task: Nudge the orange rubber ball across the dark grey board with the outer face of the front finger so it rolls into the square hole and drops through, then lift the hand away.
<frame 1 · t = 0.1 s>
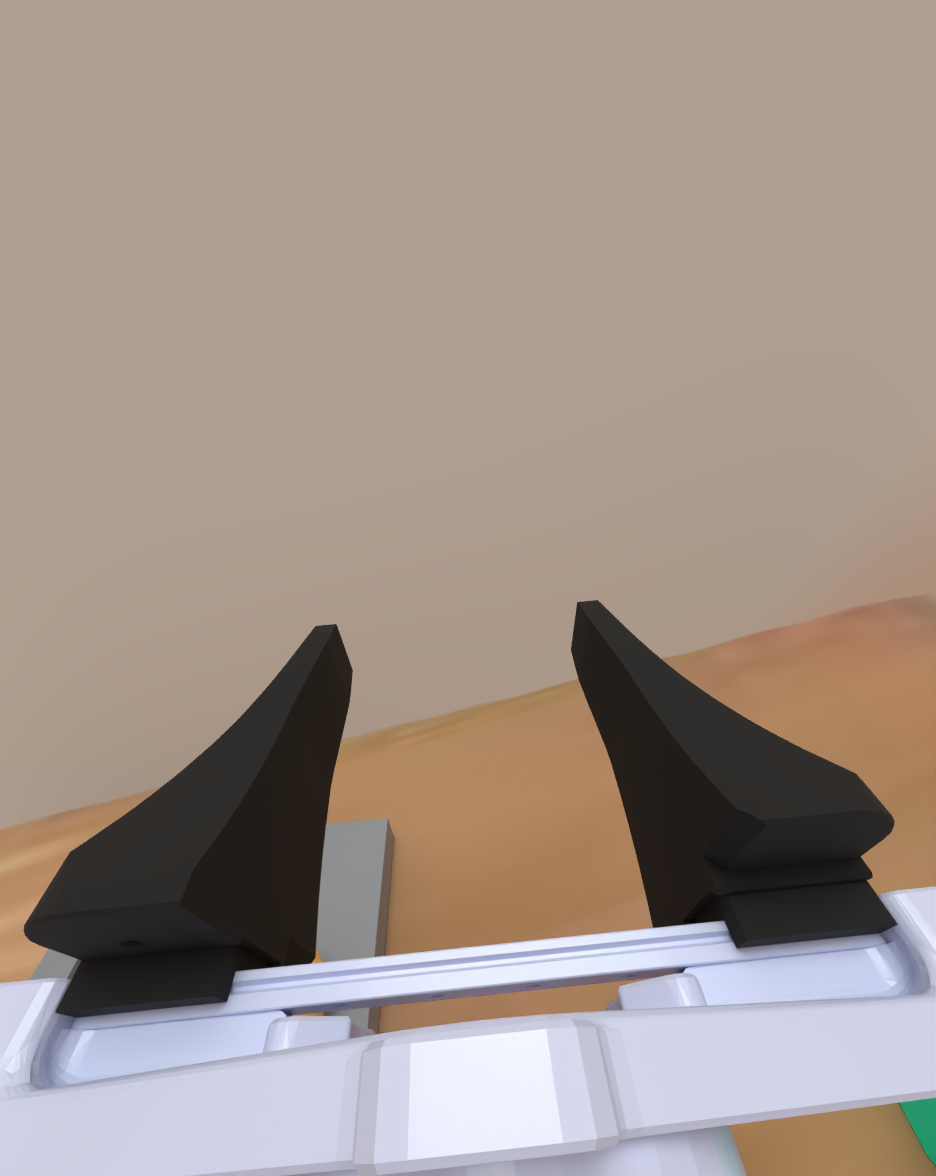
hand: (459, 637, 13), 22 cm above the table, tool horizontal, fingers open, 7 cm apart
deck: (201, 1042, 21), on the table
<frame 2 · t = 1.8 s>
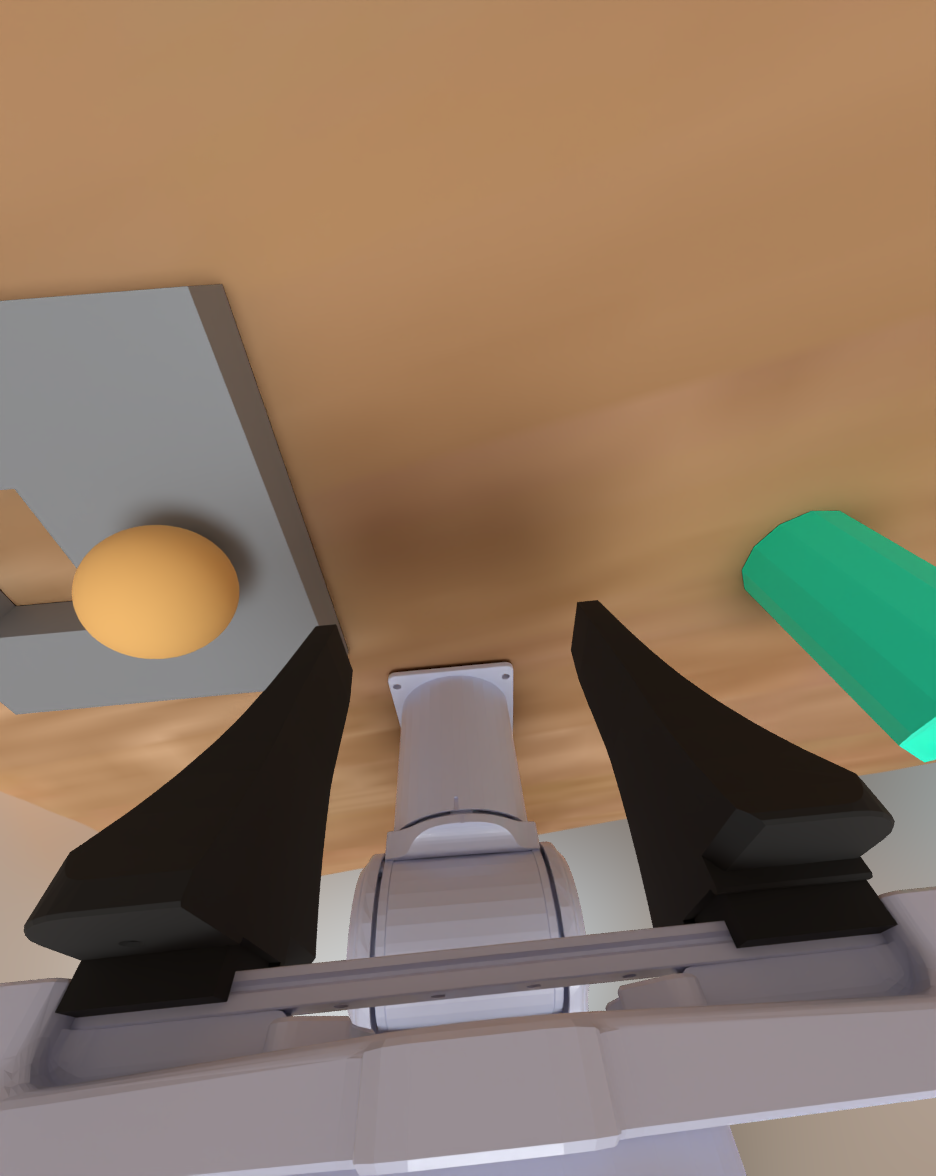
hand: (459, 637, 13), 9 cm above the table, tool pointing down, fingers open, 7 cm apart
candle: (794, 556, 23), on the table
ball: (163, 591, 16), point 5 cm above the table, touching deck
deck: (111, 536, 19), on the table
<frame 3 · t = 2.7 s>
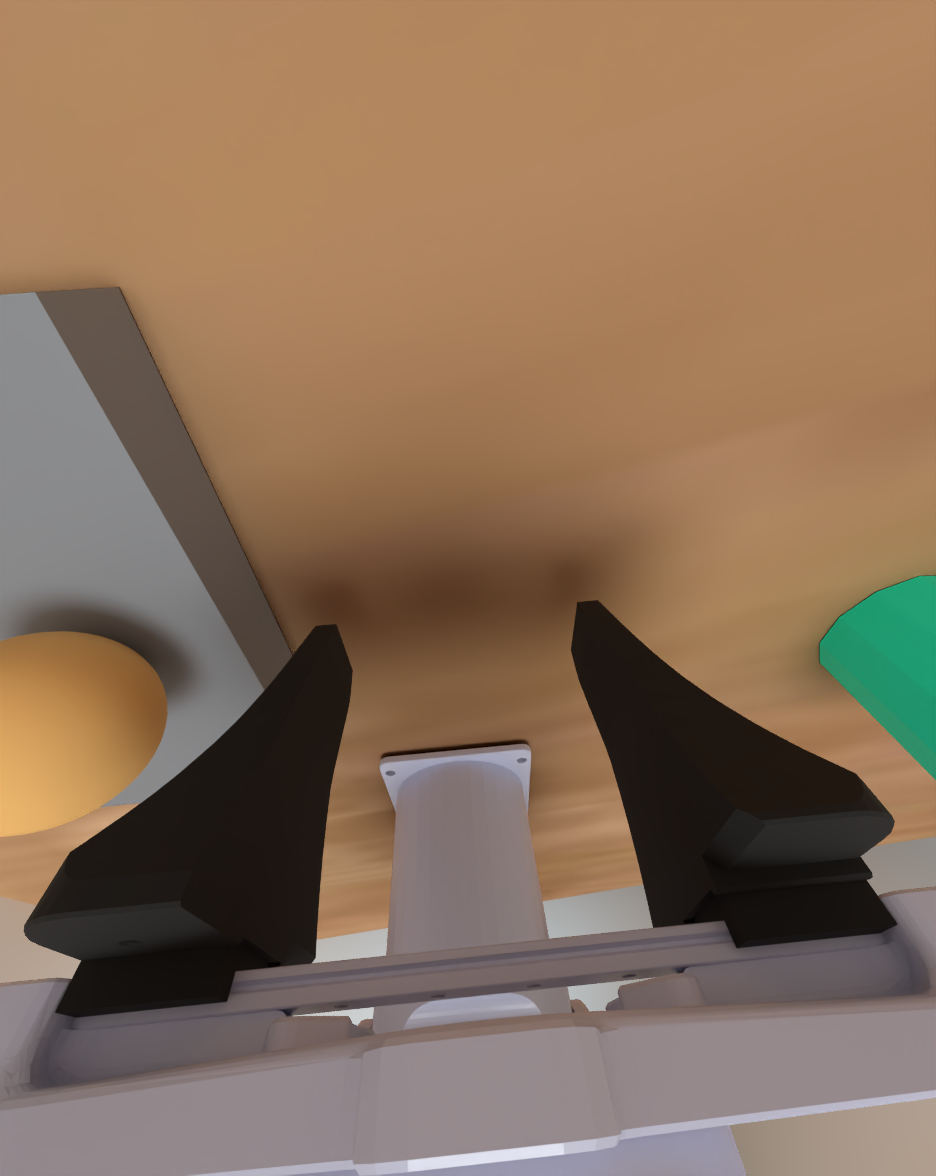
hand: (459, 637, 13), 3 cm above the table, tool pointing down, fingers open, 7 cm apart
candle: (886, 625, 19), on the table
ball: (50, 726, 11), point 5 cm above the table, touching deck
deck: (11, 617, 15), on the table
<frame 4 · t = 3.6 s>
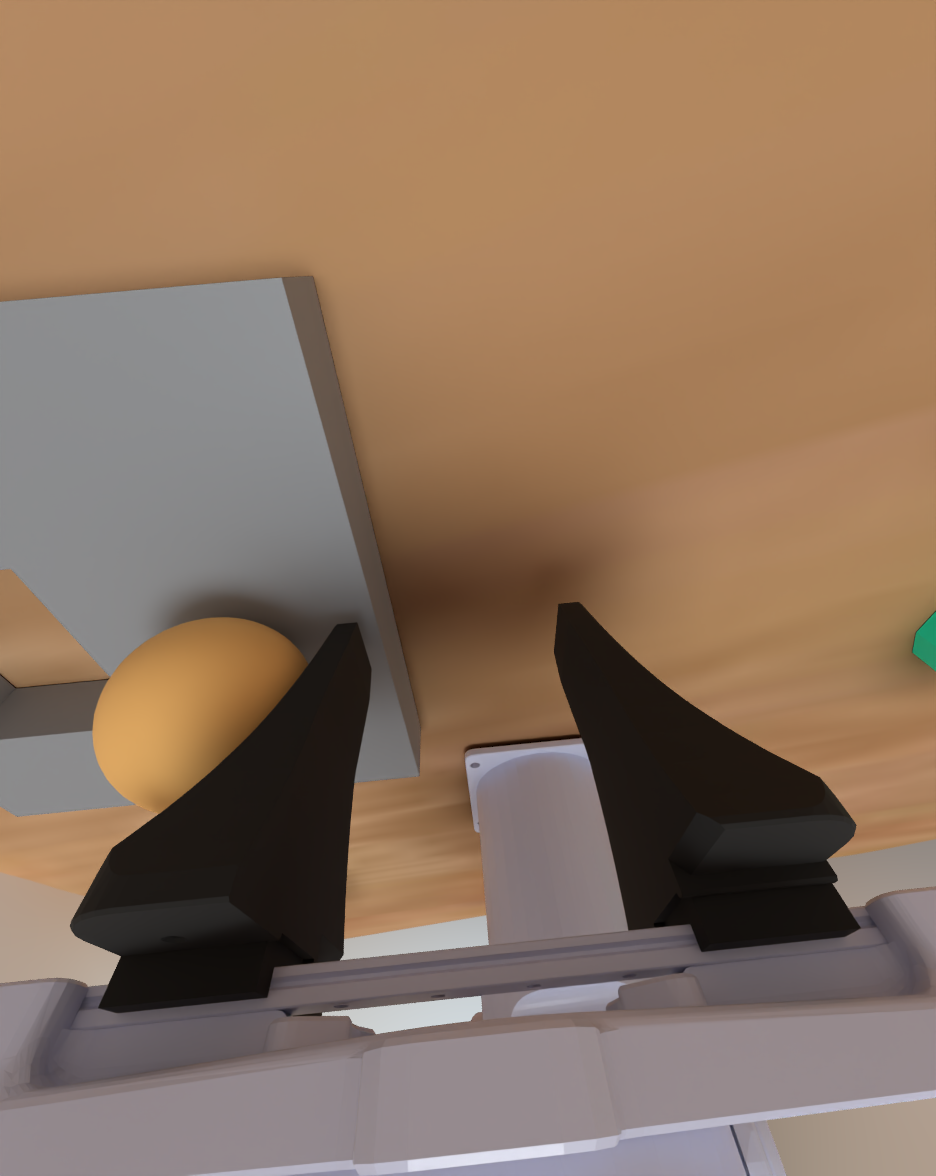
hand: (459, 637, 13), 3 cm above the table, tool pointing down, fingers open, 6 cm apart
ball: (218, 710, 11), point 5 cm above the table, touching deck, gripper
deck: (138, 608, 15), on the table
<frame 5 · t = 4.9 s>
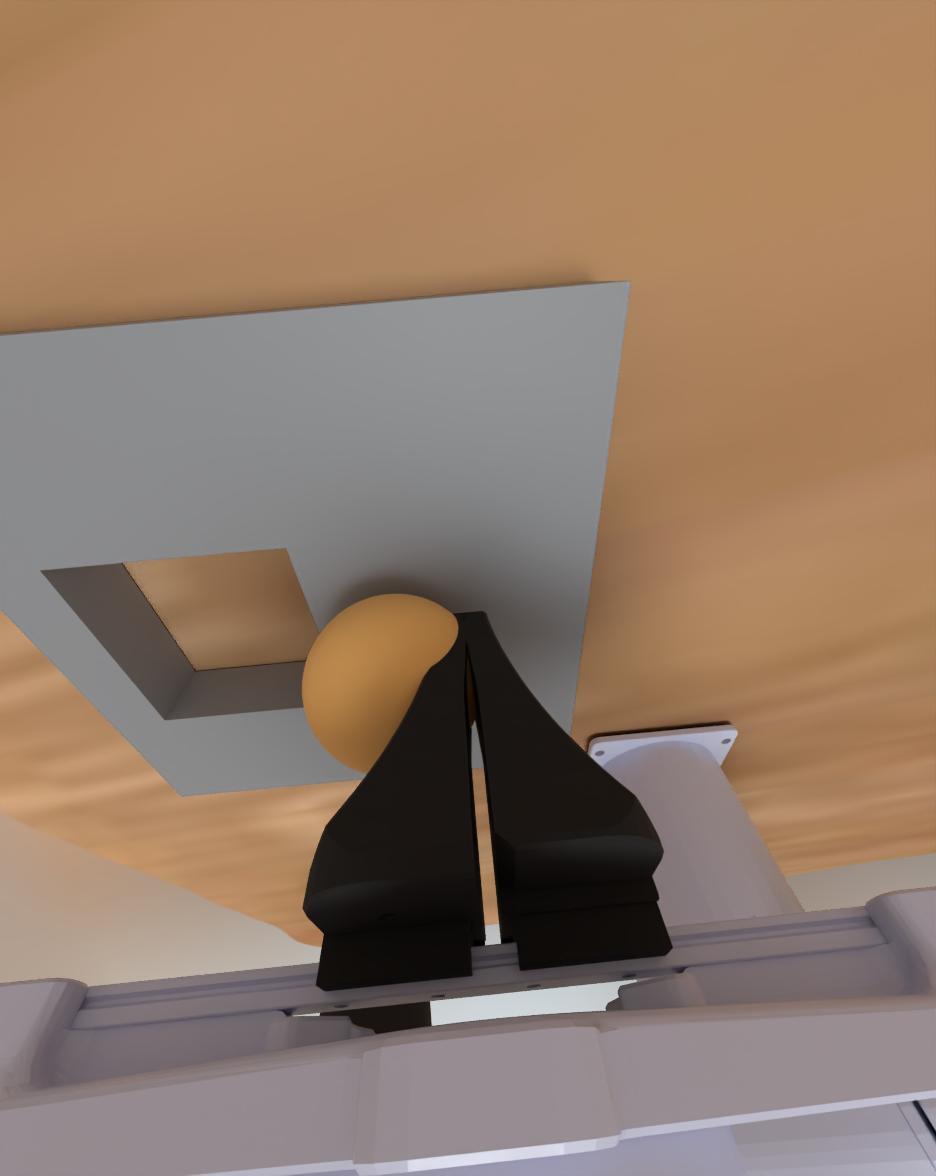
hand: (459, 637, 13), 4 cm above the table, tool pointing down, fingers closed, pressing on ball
dixie cup: (387, 869, 32), on the table
ball: (396, 680, 12), point 5 cm above the table, tilted 52°, touching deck, gripper
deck: (335, 592, 16), on the table
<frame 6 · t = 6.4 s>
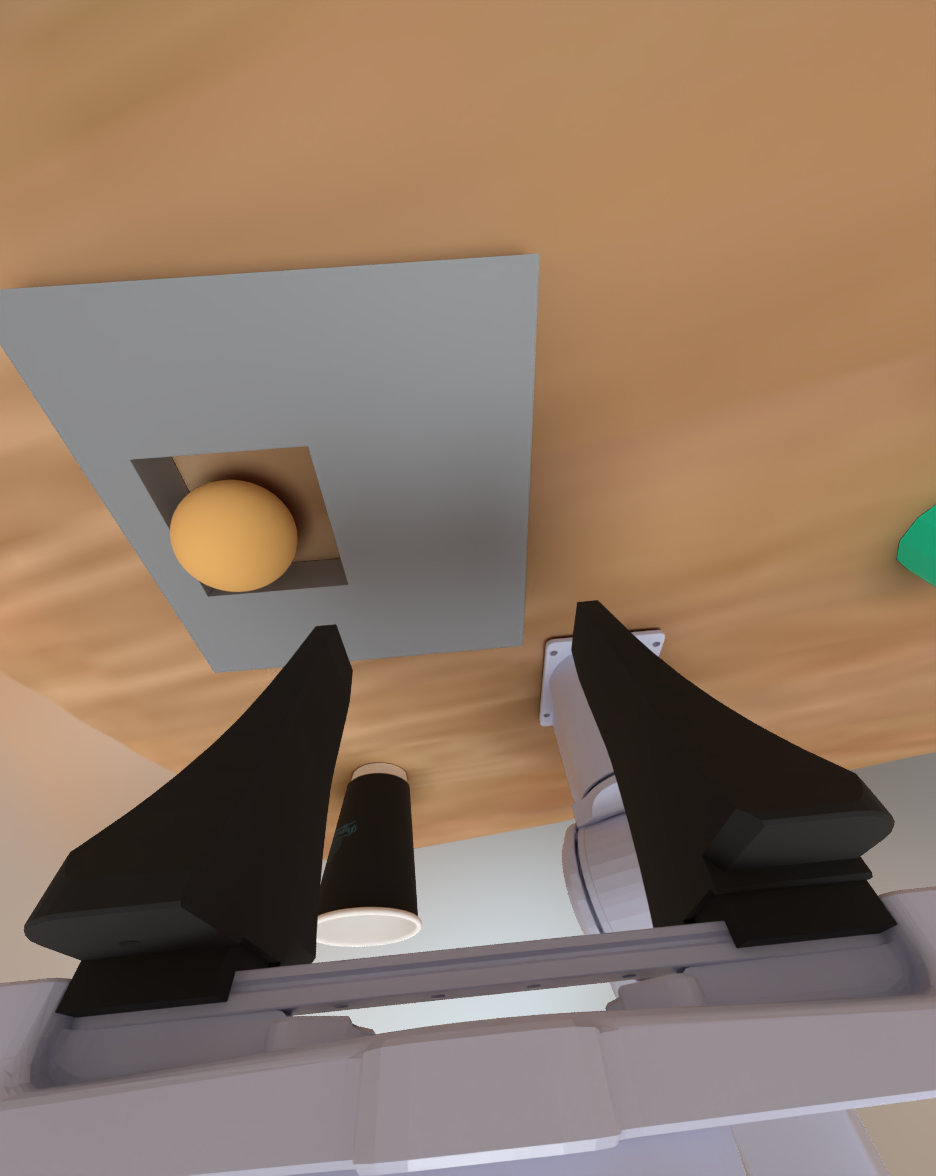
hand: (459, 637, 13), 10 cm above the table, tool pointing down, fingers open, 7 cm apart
dixie cup: (380, 774, 37), on the table
ball: (237, 536, 19), point 2 cm above the table, tilted 124°
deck: (340, 499, 21), on the table
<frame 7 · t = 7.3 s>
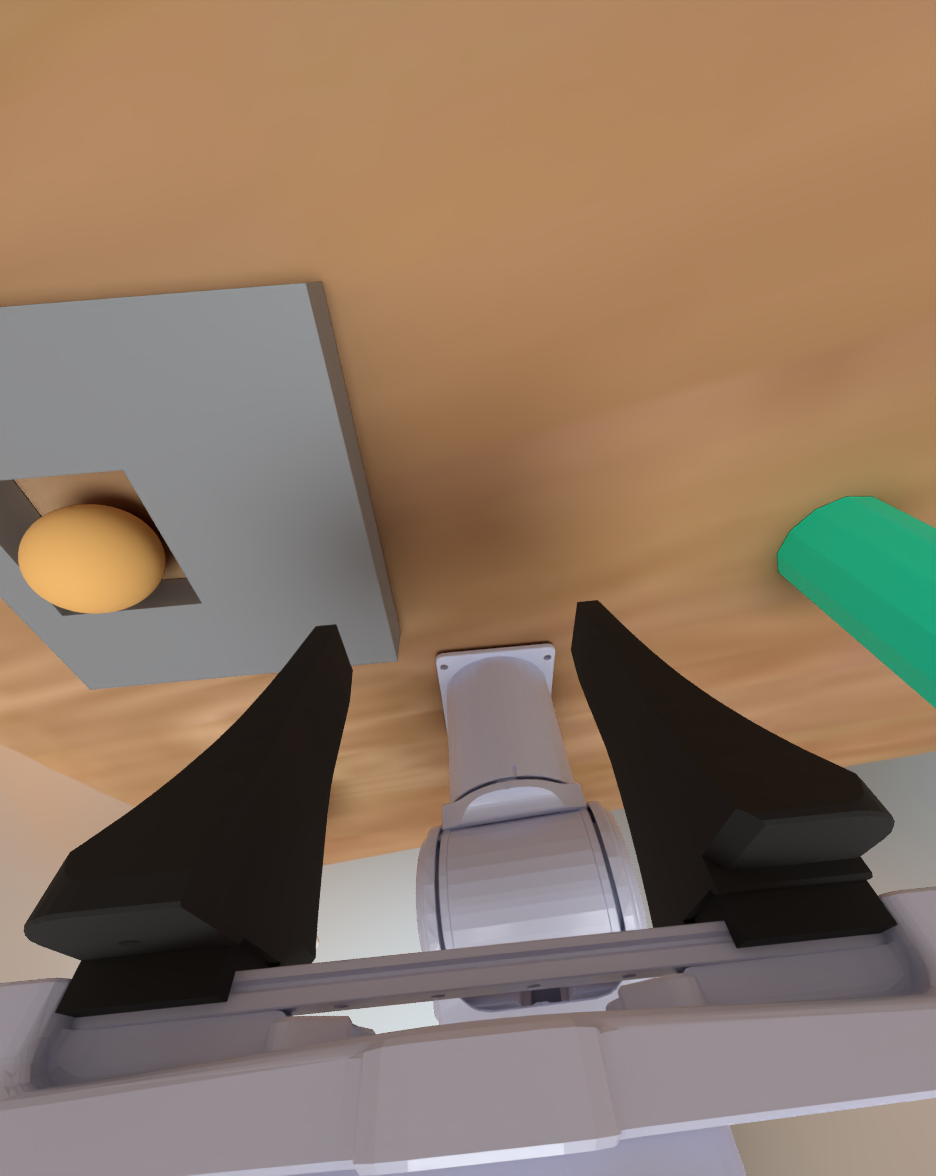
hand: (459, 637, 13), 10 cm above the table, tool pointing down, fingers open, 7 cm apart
candle: (827, 540, 24), on the table
ball: (98, 559, 19), point 2 cm above the table, tilted 143°
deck: (192, 518, 21), on the table
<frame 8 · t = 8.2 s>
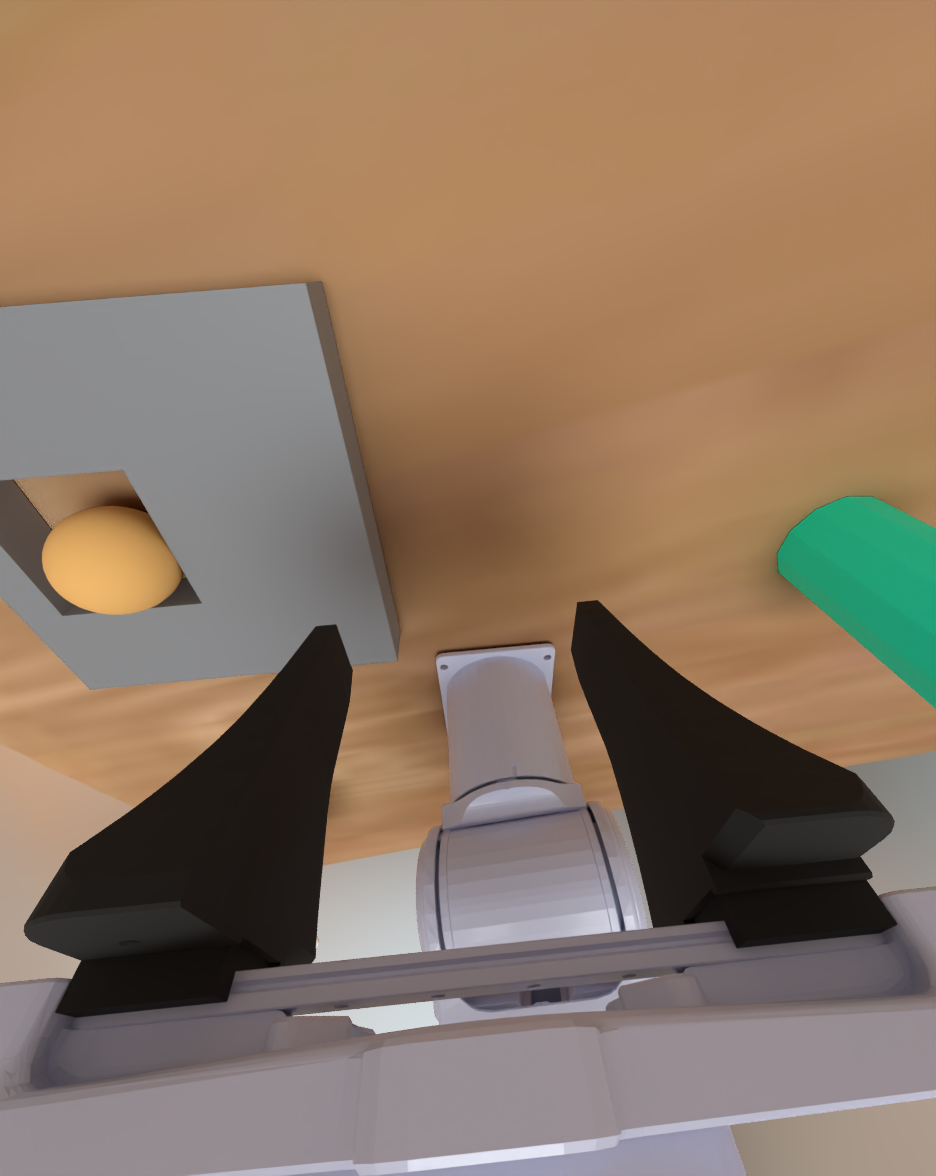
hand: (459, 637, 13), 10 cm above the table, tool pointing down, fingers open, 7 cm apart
candle: (827, 540, 24), on the table
ball: (119, 560, 19), point 2 cm above the table, tilted 158°
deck: (192, 518, 21), on the table
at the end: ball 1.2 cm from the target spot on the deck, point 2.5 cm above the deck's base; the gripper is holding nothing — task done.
